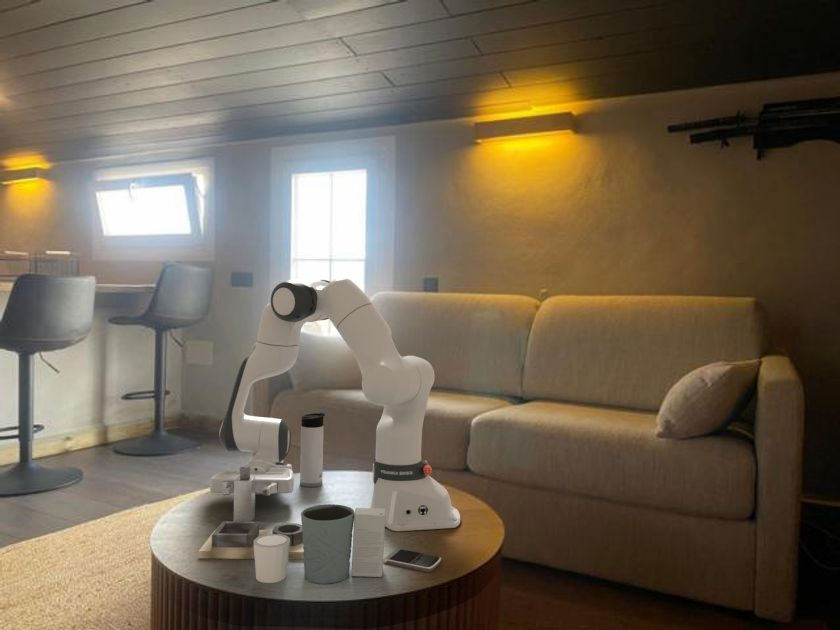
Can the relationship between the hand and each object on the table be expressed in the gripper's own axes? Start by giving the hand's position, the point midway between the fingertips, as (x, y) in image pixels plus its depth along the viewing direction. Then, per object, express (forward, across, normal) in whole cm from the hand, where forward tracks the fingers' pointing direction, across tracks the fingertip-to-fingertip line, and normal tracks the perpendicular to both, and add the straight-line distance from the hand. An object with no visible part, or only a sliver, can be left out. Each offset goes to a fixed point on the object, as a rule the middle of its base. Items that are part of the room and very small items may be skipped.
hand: (245, 492), depth 152 cm
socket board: (+17, +7, +6) cm, 19 cm away
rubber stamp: (+1, 0, +6) cm, 7 cm away
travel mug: (-29, +12, +7) cm, 32 cm away
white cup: (+31, +12, +7) cm, 34 cm away
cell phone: (+24, +39, +7) cm, 46 cm away
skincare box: (+29, +30, +7) cm, 42 cm away
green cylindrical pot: (+30, +22, +7) cm, 38 cm away
